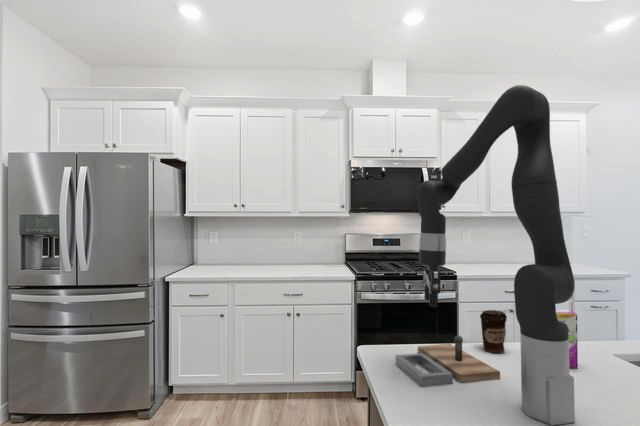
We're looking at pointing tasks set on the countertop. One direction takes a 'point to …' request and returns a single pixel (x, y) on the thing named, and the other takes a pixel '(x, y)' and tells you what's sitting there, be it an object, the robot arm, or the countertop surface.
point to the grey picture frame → (431, 379)
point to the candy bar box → (570, 334)
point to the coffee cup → (493, 330)
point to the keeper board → (459, 362)
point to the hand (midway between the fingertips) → (430, 303)
